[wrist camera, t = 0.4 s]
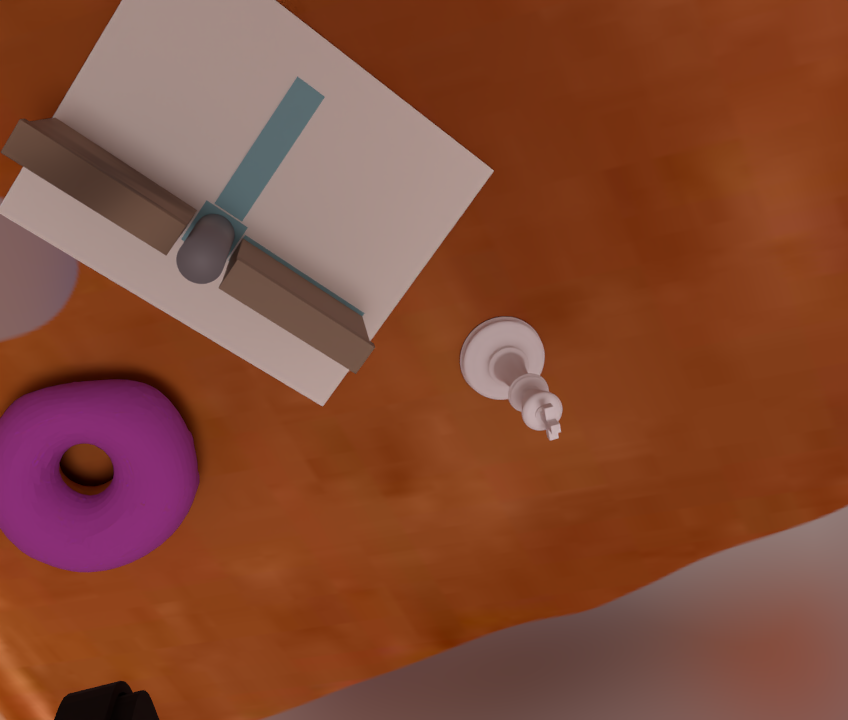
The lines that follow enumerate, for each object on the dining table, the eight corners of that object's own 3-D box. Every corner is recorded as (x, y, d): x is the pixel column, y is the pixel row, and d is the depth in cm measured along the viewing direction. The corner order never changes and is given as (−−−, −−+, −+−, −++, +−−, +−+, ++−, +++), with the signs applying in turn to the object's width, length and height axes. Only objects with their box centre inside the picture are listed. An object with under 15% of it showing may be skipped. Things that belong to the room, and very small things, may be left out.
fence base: (-2, 210, 38) (-62, 237, 32) (171, -81, 35) (144, -117, 29) (322, 404, 44) (327, 460, 38) (492, 170, 41) (530, 186, 35)
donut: (187, 358, 42) (175, 390, 38) (215, 525, 46) (207, 572, 42) (-21, 379, 41) (-59, 415, 36) (25, 549, 45) (-4, 601, 40)
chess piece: (468, 405, 46) (513, 488, 36) (452, 328, 44) (494, 395, 35) (548, 384, 46) (613, 461, 37) (535, 306, 44) (599, 367, 35)
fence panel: (199, 206, 39) (185, 225, 34) (182, 233, 39) (166, 255, 34) (57, 113, 36) (19, 119, 31) (40, 142, 37) (0, 152, 32)
